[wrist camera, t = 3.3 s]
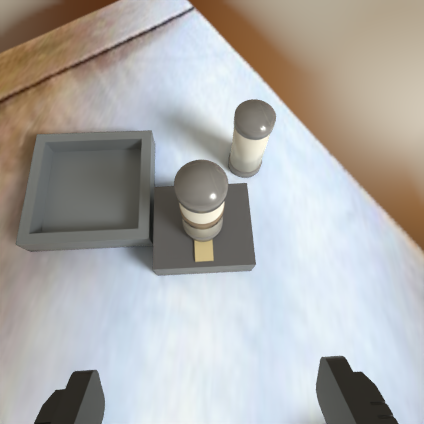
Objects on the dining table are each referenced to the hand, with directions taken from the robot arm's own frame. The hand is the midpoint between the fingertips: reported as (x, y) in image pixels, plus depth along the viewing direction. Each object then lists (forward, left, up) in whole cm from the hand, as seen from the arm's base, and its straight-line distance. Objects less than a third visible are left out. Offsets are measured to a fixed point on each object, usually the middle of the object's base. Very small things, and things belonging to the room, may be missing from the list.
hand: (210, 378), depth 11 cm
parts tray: (-11, +16, -17) cm, 26 cm away
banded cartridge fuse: (0, +11, -14) cm, 17 cm away
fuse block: (0, +11, -17) cm, 20 cm away
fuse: (+5, +19, -17) cm, 26 cm away
